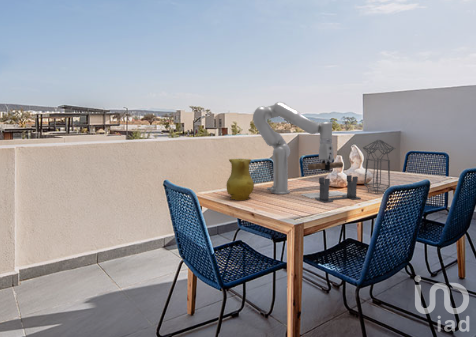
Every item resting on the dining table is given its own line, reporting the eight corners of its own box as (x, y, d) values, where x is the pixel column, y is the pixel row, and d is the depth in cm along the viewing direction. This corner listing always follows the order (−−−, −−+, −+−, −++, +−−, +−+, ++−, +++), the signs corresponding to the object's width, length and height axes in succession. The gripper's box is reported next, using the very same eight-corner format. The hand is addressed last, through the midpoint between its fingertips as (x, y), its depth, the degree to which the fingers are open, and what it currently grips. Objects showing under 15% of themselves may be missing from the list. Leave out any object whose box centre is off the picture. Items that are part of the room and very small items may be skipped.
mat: (310, 198, 220) (310, 197, 220) (300, 195, 231) (300, 194, 231) (348, 194, 230) (348, 194, 230) (337, 191, 241) (337, 190, 241)
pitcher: (221, 199, 217) (222, 158, 215) (232, 195, 235) (233, 157, 233) (248, 202, 212) (249, 160, 210) (257, 197, 229) (259, 158, 227)
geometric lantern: (359, 191, 241) (361, 139, 237) (378, 189, 246) (380, 138, 242) (375, 195, 227) (377, 140, 222) (395, 193, 231) (397, 139, 227)
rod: (310, 170, 222) (310, 164, 222) (307, 169, 226) (307, 163, 225) (342, 167, 231) (343, 162, 230) (339, 167, 234) (339, 161, 234)
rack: (324, 202, 208) (325, 179, 206) (315, 199, 217) (315, 177, 216) (360, 198, 217) (361, 176, 216) (350, 195, 227) (350, 174, 225)
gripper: (338, 142, 220) (338, 171, 222) (323, 141, 235) (323, 168, 237) (328, 142, 217) (328, 172, 219) (313, 141, 232) (313, 169, 235)
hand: (325, 170), depth 228 cm, fingers closed on rod, 3 cm apart
